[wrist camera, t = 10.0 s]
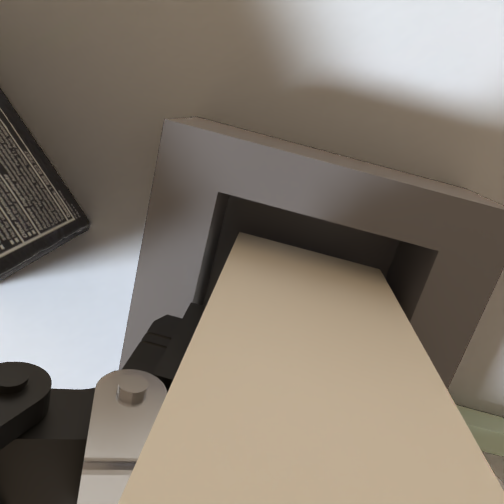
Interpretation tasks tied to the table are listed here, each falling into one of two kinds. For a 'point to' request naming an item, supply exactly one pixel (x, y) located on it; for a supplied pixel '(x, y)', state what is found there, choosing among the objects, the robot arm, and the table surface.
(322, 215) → the outlet strip
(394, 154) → the table surface
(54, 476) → the robot arm
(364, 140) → the table surface
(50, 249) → the small box
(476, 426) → the tray frame
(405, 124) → the table surface
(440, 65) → the table surface
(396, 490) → the plug
